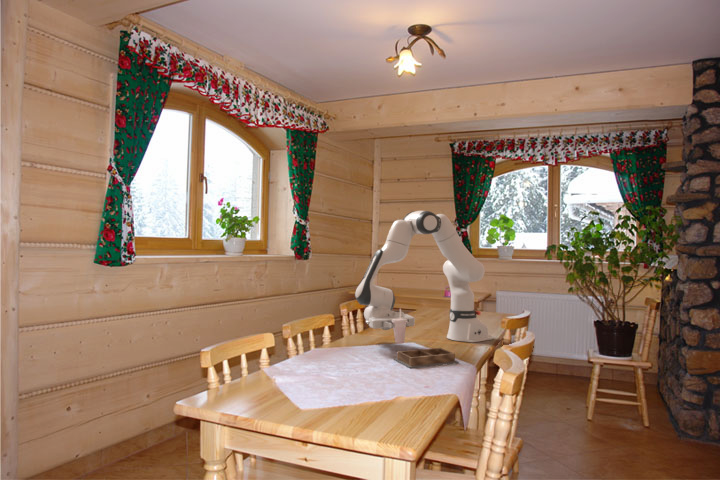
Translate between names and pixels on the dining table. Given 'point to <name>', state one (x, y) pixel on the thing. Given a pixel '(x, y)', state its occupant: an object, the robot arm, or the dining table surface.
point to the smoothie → (399, 329)
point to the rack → (425, 356)
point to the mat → (423, 365)
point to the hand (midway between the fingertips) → (400, 325)
